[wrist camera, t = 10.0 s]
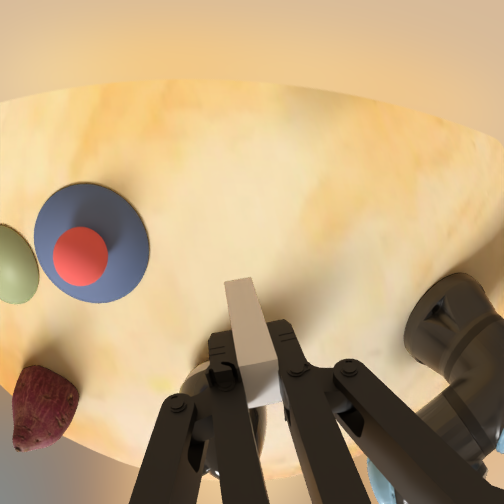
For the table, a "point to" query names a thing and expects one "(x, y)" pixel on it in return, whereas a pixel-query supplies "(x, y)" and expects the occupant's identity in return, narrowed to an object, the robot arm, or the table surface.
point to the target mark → (107, 226)
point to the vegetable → (41, 408)
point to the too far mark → (16, 268)
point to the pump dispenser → (194, 386)
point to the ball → (80, 256)
